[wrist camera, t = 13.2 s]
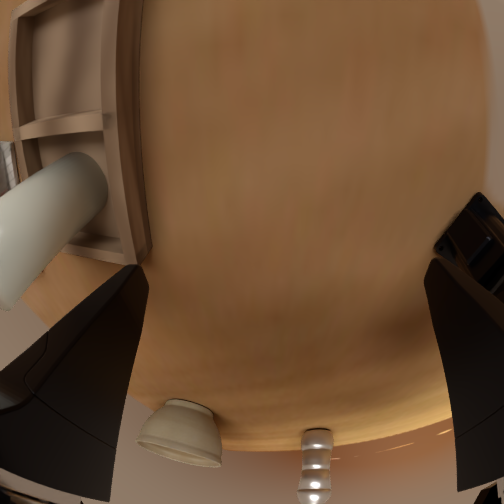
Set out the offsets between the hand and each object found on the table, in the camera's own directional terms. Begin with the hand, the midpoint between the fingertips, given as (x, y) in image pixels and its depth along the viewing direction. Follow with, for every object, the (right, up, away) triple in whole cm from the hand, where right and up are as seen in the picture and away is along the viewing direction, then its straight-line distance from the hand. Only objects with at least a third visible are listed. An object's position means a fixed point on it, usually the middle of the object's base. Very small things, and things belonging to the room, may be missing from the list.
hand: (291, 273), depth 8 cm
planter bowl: (-13, -30, +40) cm, 52 cm away
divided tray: (-15, +11, +10) cm, 21 cm away
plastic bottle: (+12, -36, +40) cm, 55 cm away
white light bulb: (-16, +6, +12) cm, 21 cm away
